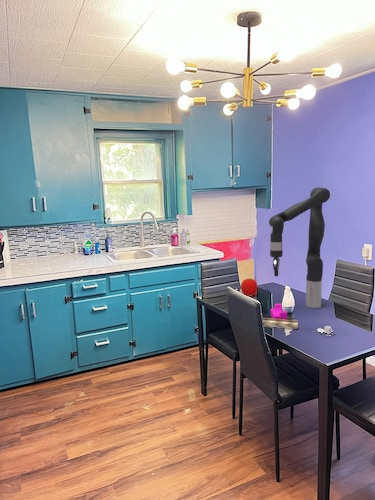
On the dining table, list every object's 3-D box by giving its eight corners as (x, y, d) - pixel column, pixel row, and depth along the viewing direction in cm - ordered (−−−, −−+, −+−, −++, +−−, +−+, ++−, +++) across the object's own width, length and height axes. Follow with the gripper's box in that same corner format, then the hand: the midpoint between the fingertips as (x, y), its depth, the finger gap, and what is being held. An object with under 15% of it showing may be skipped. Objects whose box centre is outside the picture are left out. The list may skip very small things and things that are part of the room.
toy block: (270, 315, 226) (270, 304, 225) (280, 315, 226) (280, 303, 225) (276, 325, 212) (276, 312, 210) (287, 324, 212) (287, 312, 210)
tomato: (261, 296, 264) (261, 278, 261) (248, 299, 258) (248, 281, 255) (249, 291, 274) (249, 275, 272) (237, 295, 268) (237, 278, 266)
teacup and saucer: (314, 332, 201) (315, 325, 200) (326, 329, 203) (327, 322, 203) (326, 338, 193) (326, 331, 192) (338, 335, 195) (338, 328, 194)
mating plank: (297, 327, 207) (297, 320, 207) (297, 329, 204) (297, 323, 203) (261, 323, 214) (261, 317, 214) (260, 326, 211) (260, 320, 210)
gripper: (281, 251, 221) (281, 279, 224) (283, 247, 233) (283, 273, 237) (268, 250, 224) (268, 278, 227) (271, 246, 236) (271, 273, 239)
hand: (276, 276), depth 232 cm, fingers closed
